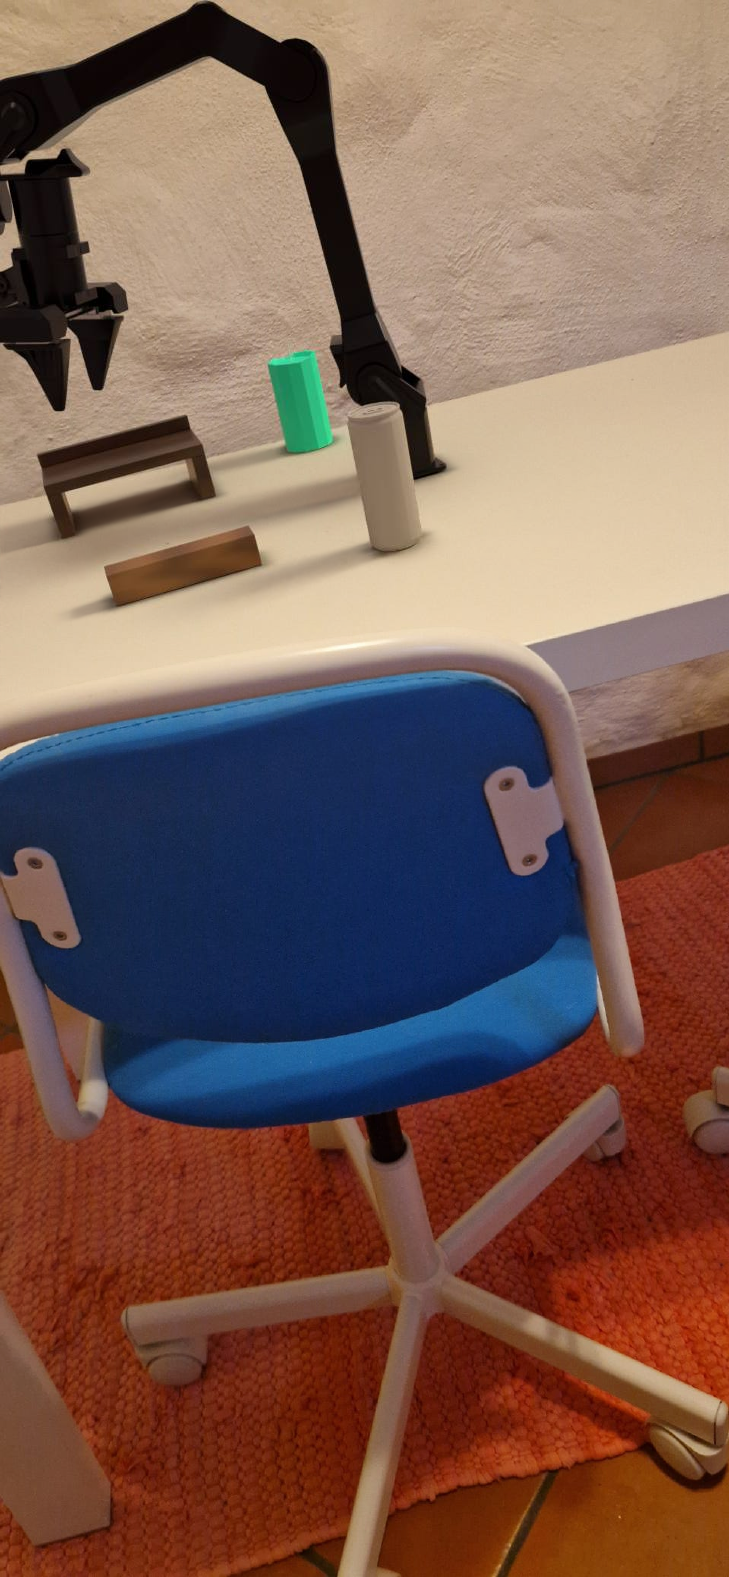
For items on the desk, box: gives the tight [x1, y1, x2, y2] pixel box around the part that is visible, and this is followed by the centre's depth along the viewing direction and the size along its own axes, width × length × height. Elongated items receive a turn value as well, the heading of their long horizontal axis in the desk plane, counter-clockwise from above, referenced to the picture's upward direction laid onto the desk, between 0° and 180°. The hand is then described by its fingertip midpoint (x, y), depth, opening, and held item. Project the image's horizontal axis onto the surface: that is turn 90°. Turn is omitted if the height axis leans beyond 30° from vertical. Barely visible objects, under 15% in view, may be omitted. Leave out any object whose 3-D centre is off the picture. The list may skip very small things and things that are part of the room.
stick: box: [103, 525, 263, 607], centre depth 99 cm, size 14×3×3 cm, turn 106°
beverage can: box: [346, 402, 423, 552], centre depth 94 cm, size 5×5×12 cm
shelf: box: [36, 413, 217, 539], centre depth 122 cm, size 10×18×8 cm, turn 106°
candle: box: [267, 343, 334, 454], centre depth 129 cm, size 6×6×12 cm
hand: (79, 400), depth 111 cm, fingers open, 9 cm apart
